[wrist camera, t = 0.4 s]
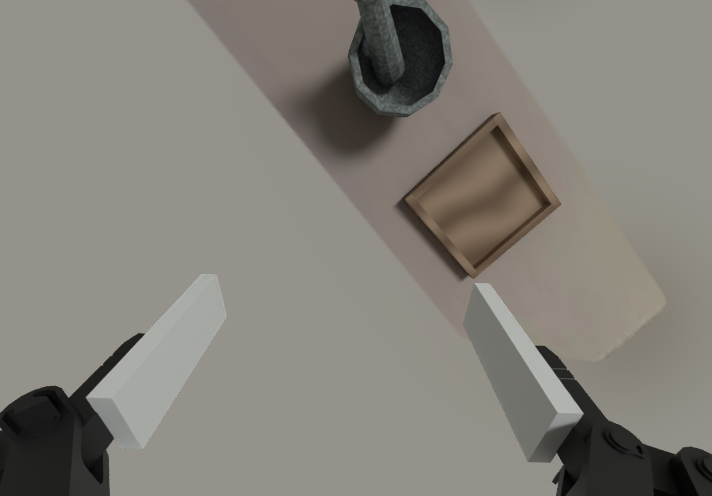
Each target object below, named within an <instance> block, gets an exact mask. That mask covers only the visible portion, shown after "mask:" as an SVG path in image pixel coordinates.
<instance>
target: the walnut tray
mask: <svg viewBox="0 0 712 496" xmlns="http://www.w3.org/2000/svg"><path fill="white" fill-rule="evenodd" d="M402 199H403V200H404V201H405V202H406V204H407V205H408V206H409V207H410V208H411V209H412V211H413V212H414V213H415V214H416V215H417V216H418V218H419V219H420V220H421V221H422V222H423V223H424V224H425V226H426V227H427V228H428V229H429V230H430V231H431V233H432V234H433V235H434V236H435V237H436V238H437V240H438V241H439V242H440V243H441V244H442V245H443V247H444V248H445V249H446V250H447V251H448V252H449V254H450V255H451V256H452V257H453V258H454V259H455V260H456V262H457V263H458V264H459V265H460V266H461V267H462V269H463V270H464V271H465V272H466V273H467V274H468V275H469V276H470V277H471V278H473V279H474V278H475V277H476V276H478V275H479V274H480V273H481V272H482V271H483V270H485V269H486V268H487V267H488V266H489V265H491V264H492V263H493V262H494V261H495V260H496V259H498V258H499V257H500V256H501V255H502V254H503V253H505V252H506V251H507V250H508V249H509V248H511V247H512V246H513V245H514V244H515V243H516V242H518V241H519V240H520V239H521V238H522V237H524V236H525V235H526V234H527V233H528V232H529V231H531V230H532V229H533V228H534V227H535V226H536V225H538V224H539V223H540V222H541V221H542V220H544V219H545V218H546V217H547V216H548V215H549V214H551V213H552V212H553V211H554V210H555V209H556V208H558V207H559V206H560V205H561V203H560V201H559V200H558V198H557V197H556V195H555V194H554V192H553V191H552V189H551V188H550V186H549V185H548V183H547V182H546V180H545V179H544V177H543V176H542V174H541V173H540V171H539V170H538V168H537V167H536V165H535V164H534V162H533V161H532V159H531V158H530V156H529V155H528V153H527V152H526V150H525V149H524V147H523V146H522V144H521V143H520V141H519V140H518V138H517V137H516V136H515V134H514V133H513V131H512V130H511V128H510V127H509V125H508V124H507V122H506V121H505V119H504V118H503V116H502V115H501V113H500V112H498V113H496V114H493V115H492V116H491V117H490V118H488V119H487V120H486V121H485V122H484V123H483V124H482V125H481V126H480V127H479V128H478V129H477V130H476V131H474V132H473V133H472V134H471V135H470V136H469V137H468V138H467V139H466V140H465V141H464V142H463V143H461V144H460V145H459V146H458V147H457V148H456V149H455V150H454V151H453V152H452V153H451V154H450V155H449V156H447V157H446V158H445V159H444V160H443V161H442V162H441V163H440V164H439V165H438V166H437V167H436V168H435V169H433V170H432V171H431V172H430V173H429V174H428V175H427V176H426V177H425V178H424V179H423V180H422V181H420V182H419V183H418V184H417V185H416V186H415V187H414V188H413V189H412V190H411V191H410V192H409V193H408V194H406V195H405V196H404V197H403V198H402Z"/></svg>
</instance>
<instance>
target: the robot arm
mask: <svg viewBox="0 0 712 496" xmlns="http://www.w3.org/2000/svg"><path fill="white" fill-rule="evenodd" d="M226 317H227V315H226V310H225V306H224V302H223V298H222V294H221V290H220V286H219V282H218V277H217V274H201V275H200V276H199V277H198V278H197V280H196V281H195V282H194V283H193V284H192V285H191V286H190V287H189V288H188V289H187V290H186V291H185V292H184V293H183V294H182V296H181V297H180V298H179V299H178V300H177V301H176V302H175V303H174V304H173V305H172V306H171V307H170V308H169V309H168V310H167V312H166V313H165V314H164V315H163V316H162V317H161V318H160V319H159V320H158V321H157V322H156V323H155V324H154V325H153V326H152V328H151V329H150V330H149V331H148V332H147V333H146V334H141V333H138V334H137V335H135V336H134V337H132V338H130V339H129V340H127V341H126V342H124V343H123V344H122V345H121V346H120V347H119V348H118V349H117V350H116V351H115V352H114V353H113V355H112V356H110V357H109V358H108V359H107V360H106V361H105V362H104V364H103V366H100V367H99V368H98V369H97V370H96V371H95V372H94V373H93V374H92V375H91V376H90V377H89V378H88V379H87V381H85V382H84V383H83V384H82V385H81V386H80V387H79V388H78V389H77V390H76V391H75V392H74V393H73V394H72V396H70V397H69V398H68V397H67V395H66V394H65V393H64V391H63V390H62V388H59V387H57V386H46V387H43V388H40V389H36V390H33V391H31V392H29V393H27V394H25V395H23V396H21V397H20V398H18V399H17V400H15V401H14V402H12V403H11V404H9V405H8V406H7V407H6V408H5V409H4V410H3V411H2V412H1V413H0V428H1V429H2V431H0V496H110V491H109V490H110V488H109V457H108V453H107V451H106V449H107V447H108V446H109V444H110V443H111V442H112V440H113V439H114V440H115V442H116V443H117V445H118V446H119V448H120V449H143V448H144V447H145V445H146V443H147V442H148V440H149V439H150V437H151V436H152V434H153V433H154V431H155V429H156V428H157V426H158V425H159V423H160V421H161V420H162V418H163V417H164V415H165V413H166V412H167V410H168V409H169V407H170V405H171V404H172V402H173V401H174V399H175V398H176V396H177V395H178V393H179V391H180V390H181V388H182V387H183V385H184V383H185V382H186V380H187V379H188V377H189V375H190V374H191V372H192V371H193V369H194V367H195V366H196V364H197V363H198V361H199V360H200V358H201V357H202V355H203V353H204V352H205V350H206V349H207V347H208V345H209V344H210V342H211V341H212V339H213V337H214V336H215V334H216V333H217V331H218V330H219V328H220V326H221V325H222V323H223V321H224V320H225V319H226ZM463 325H464V327H465V329H466V331H467V333H468V336H469V338H470V340H471V342H472V344H473V346H474V348H475V350H476V353H477V355H478V357H479V359H480V361H481V363H482V365H483V367H484V370H485V371H486V374H487V376H488V378H489V380H490V382H491V385H492V387H493V389H494V391H495V393H496V395H497V397H498V399H499V402H500V404H501V406H502V408H503V410H504V412H505V414H506V416H507V419H508V421H509V423H510V425H511V427H512V429H513V431H514V433H515V436H516V438H517V440H518V442H519V444H520V446H521V448H522V451H523V453H524V455H525V457H526V459H527V461H528V462H549V463H550V462H551V461H552V459H553V458H554V456H555V455H556V453H557V454H558V456H559V457H560V459H561V461H562V463H563V464H564V465H563V466H562V468H561V469H560V471H559V472H558V473H557V474H556V476H555V477H554V479H553V481H552V482H553V483H554V484H557V482H558V481H559V482H558V488H557V494H556V496H712V454H710V453H708V452H706V451H704V450H701V449H698V448H693V447H683V448H682V449H681V450H680V451H679V452H678V453H677V454H672V453H669V452H666V451H663V450H660V449H657V448H654V447H651V446H647V445H645V444H642V442H641V441H640V440H639V439H637V437H636V436H634V435H633V434H632V433H631V432H630V431H628V430H627V429H625V428H623V427H622V426H621V425H618V424H616V423H613V422H611V421H608V420H607V419H606V417H605V416H604V415H603V413H602V412H601V411H600V410H599V409H598V407H597V406H596V405H595V403H594V402H593V401H592V400H591V398H590V397H589V396H588V394H587V393H586V392H585V391H584V389H583V388H582V387H581V385H580V384H579V383H578V382H577V381H576V380H575V379H574V377H573V375H572V374H571V373H570V371H569V370H567V368H566V366H565V365H564V364H563V363H562V362H561V360H560V359H559V357H558V356H557V355H555V354H554V353H553V352H552V351H550V350H549V349H548V348H547V347H545V346H534V344H533V343H532V341H531V340H530V339H529V337H528V336H527V335H526V333H525V332H524V330H523V329H522V328H521V326H520V325H519V324H518V322H517V321H516V319H515V318H514V317H513V315H512V314H511V312H510V311H509V310H508V308H507V307H506V306H505V304H504V303H503V301H502V300H501V299H500V297H499V296H498V295H497V293H496V292H495V290H494V289H493V288H492V286H491V285H490V283H474V287H473V290H472V294H471V297H470V301H469V305H468V308H467V312H466V315H465V319H464V322H463Z"/></svg>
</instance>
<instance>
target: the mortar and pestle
mask: <svg viewBox="0 0 712 496" xmlns="http://www.w3.org/2000/svg"><path fill="white" fill-rule="evenodd" d="M355 1H356V2H357V3H358V7H359V11H360V16H361V18H360V21H359V24H358V27H357V29H356V32H355V35H354V38H353V41H352V44H351V46H350V49H349V54H348V59H349V64H350V68H351V73H352V77H353V82H354V87H355V91H356V95H357V96H358V97H359V98H360V99H361V100H362V101H363V102H364V103H365V104H366V105H368V106H369V107H370V108H371V109H372V110H373V111H374V112H375V113H376V114H377V115H385V116H395V117H408V116H410V115H411V114H413V113H415V112H416V111H418V110H419V109H421V108H422V107H424V106H425V105H427V104H428V103H430V102H431V101H433V100H434V99H436V98H437V97H439V94H440V92H441V90H442V87H443V85H444V83H445V80H446V78H447V76H448V73H449V71H450V69H451V67H452V64H453V63H452V55H451V47H450V39H449V31H448V26H447V25H446V24H445V23H444V22H443V20H442V19H441V18H440V17H439V16H438V15H437V13H436V12H435V11H434V10H433V9H432V8H431V6H430V5H429V4H428V3H427V2H426V1H425V0H355Z"/></svg>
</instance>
